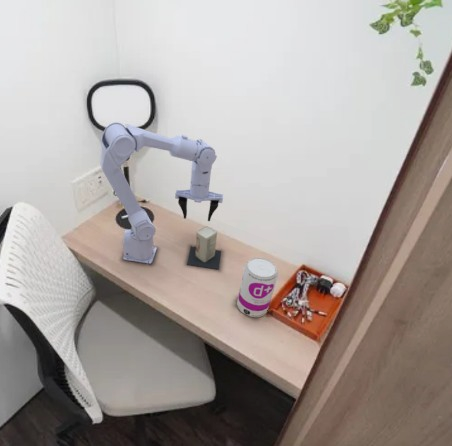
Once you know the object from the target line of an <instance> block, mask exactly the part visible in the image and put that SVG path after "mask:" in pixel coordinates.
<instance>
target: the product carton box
mask: <svg viewBox="0 0 452 446" xmlns="http://www.w3.org/2000/svg"><path fill="white" fill-rule="evenodd" d="M217 237H218V231H217V230H216V229H214V228H212V227H210V226H208V225H206V226H204V227H202V228H201V229H199V230H197V231H196V237H195V238H196V239H195V247H196V255H195V256H196V257H197V258H199V259H200V260H201V261H203V262H204V263H205V262H206V261H208V260H209V259H211V258H212V257H214V256H215V250H216V246H217Z"/></svg>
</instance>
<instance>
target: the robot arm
mask: <svg viewBox="0 0 452 446" xmlns="http://www.w3.org/2000/svg"><path fill="white" fill-rule="evenodd" d="M100 147H101V148H100V157H99V165H100V168H101V170H102V172H103V174H104V175H105V177H106V179H107V181H108V183H109V184H110V186H111V188H112V189H113V192H114V193H115V195H116V197H117V199H118V200H119V202H120V204H121V205H122V207H123V209H124V211H125V212H126V214H127V220H128V223H129V224H130V225H131V228H130V229H126V230H125V231H124V234H123V237H122V249H123V260H124V261H129V262H136V263H142V264H148V265H151V264H153V261H154V258H155V255H156V252H157V250H158V249H157V247H156V246H154V237H155V234H156V230H157V229H156V226H155V225H154V224H153V223H152V221H151V219H150V217H149V215H148V213H147V211H146V209H144V208H142V206H141V204H140V203H139V202H138V199H137V197H136V195H135V193H134V192H133V190H132V188H131V186H130V184H129V182H128V180H127V179H126V176H125V174H124V173H123V171H122V169H121V168H122V166H123V164H124V163H125V162H126V161H127V160H128V159H129V158H130V157H131V156H132V155H133V153H135V152H136V153H138V152H140V151H141V150H142V149H143V148H144V147H149V148H152V149H158V150H163V151H168V153H169V155H170V157H173V158H176V159H177V158H178V159H181V160H185V161H190V162H191V168H190V169H191V170H190V185H189V186H190V187H189V189H181V190H179V189H176V190H175V196H174V198H175V200H176V199H177V203H178V205H179V207H180V209H181V211H182V215H183V219H184V220H185V219H187V216H188V199H189V200H192V201H194V203H200V204H201V203H202V202H207V201H208V202H209V201H210V202H209V210H208V215H207V222H211V219H212V216H213V214H214V213H215V212H216V210H217V209H218V207H219V204H223V201H224V200H223V199H224V194H221V193H216V192H214V191H211V190H210V183H211V173H212V167H213V165H214V163H215V162H216V160H217V158H218V155H216V150H215V149H214V148H213V147H212V146H211V145H209V144H208V143H207V142H206V141H204V140H202V139H200V138H199V139H196V140H194V139H191V138H189V137H188V136H187V135H186V134H181V135H174V136H173V137H172V138H170V137H168V136H165V135H162V134H158V133H155V132H154V131H153V132H152V131H149V130H146V129H144V128H140V127H138V126H134V125H131V124H124V125H123V123H120V122H111V123H109V124H108V125H107V126H106V127H105V128H104V131H103V132H102V134H101V137H100Z"/></svg>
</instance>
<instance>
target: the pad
mask: <svg viewBox="0 0 452 446" xmlns="http://www.w3.org/2000/svg"><path fill="white" fill-rule="evenodd" d="M221 254H222V250H220V249H219V250H218V249H215V256H214V257H212V258H211V259H209V260H208V261H206V262H205V263H204V262H203V261H201V260H200V259H199V258H197V257H196V256H195V255H196V246H190V249H189V253H188V257H187V262H186V266H193V267H197V268H204V269H211V270H215V271H217V270H220V263H221V256H222V255H221Z"/></svg>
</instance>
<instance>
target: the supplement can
mask: <svg viewBox="0 0 452 446" xmlns="http://www.w3.org/2000/svg"><path fill="white" fill-rule="evenodd" d="M278 276H279V273H278V270H277V266H276V264H275V263H273V261H271V260H269V259H268V258H264V257H253V258H251V259H249V260H248V262H246V264H245V265H244V266H243V272H242V276H241V280H240V287H239V291H238V295H237V301H236V305H237V308H238V309H239V311H240V312H241V313H243V314H244V315H246V316H248V317H251V318H252V317H253V318H260V317H263V316H265V315H266V314H267V313H268V311H269V308H270V305H271V300H272V297H273V294H274V291H275V287H276V284H277V280H278ZM267 310H268V311H267Z"/></svg>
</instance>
